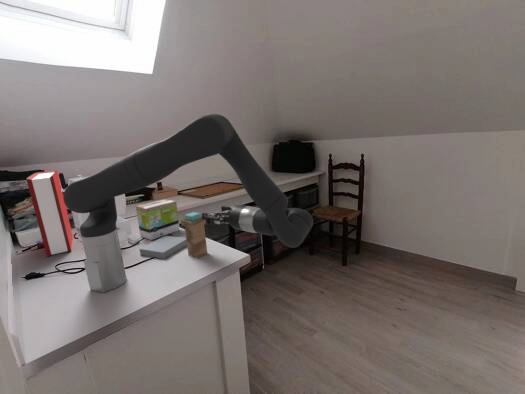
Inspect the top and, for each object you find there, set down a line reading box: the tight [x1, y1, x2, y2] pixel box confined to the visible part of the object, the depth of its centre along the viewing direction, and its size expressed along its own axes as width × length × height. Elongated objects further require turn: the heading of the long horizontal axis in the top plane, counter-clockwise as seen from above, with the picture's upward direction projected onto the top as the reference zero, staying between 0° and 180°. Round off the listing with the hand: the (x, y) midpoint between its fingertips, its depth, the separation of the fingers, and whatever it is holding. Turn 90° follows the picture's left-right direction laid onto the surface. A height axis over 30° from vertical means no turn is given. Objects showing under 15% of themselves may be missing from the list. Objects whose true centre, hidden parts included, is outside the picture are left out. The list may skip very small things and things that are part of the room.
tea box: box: [135, 199, 181, 241], centre depth 126 cm, size 15×10×15 cm
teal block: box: [184, 211, 202, 222], centre depth 99 cm, size 4×4×3 cm
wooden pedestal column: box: [180, 216, 208, 259], centre depth 101 cm, size 6×6×14 cm
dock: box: [139, 235, 187, 260], centre depth 108 cm, size 14×12×2 cm
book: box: [25, 170, 73, 258], centre depth 118 cm, size 27×8×32 cm, turn 34°
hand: (212, 212), depth 91 cm, fingers open, 8 cm apart
